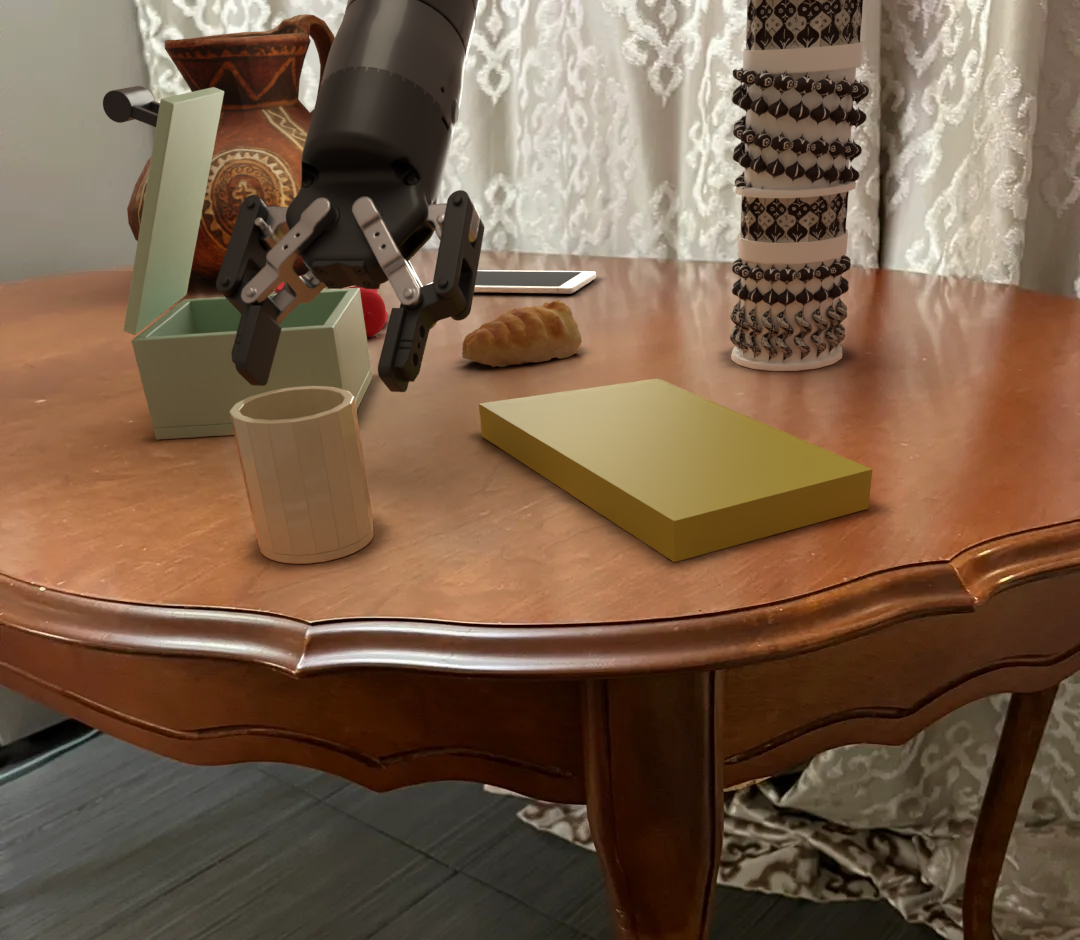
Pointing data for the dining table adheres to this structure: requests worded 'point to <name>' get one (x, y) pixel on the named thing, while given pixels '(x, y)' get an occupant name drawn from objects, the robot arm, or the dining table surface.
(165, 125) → the box lid
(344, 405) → the tan cup
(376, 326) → the alarm clock
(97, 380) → the dining table surface
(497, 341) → the pastry
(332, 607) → the dining table surface
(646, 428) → the flat olive board
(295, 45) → the jug
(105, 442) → the dining table surface
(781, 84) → the bracelet display stand
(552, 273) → the cell phone
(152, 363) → the open hinged lid box
